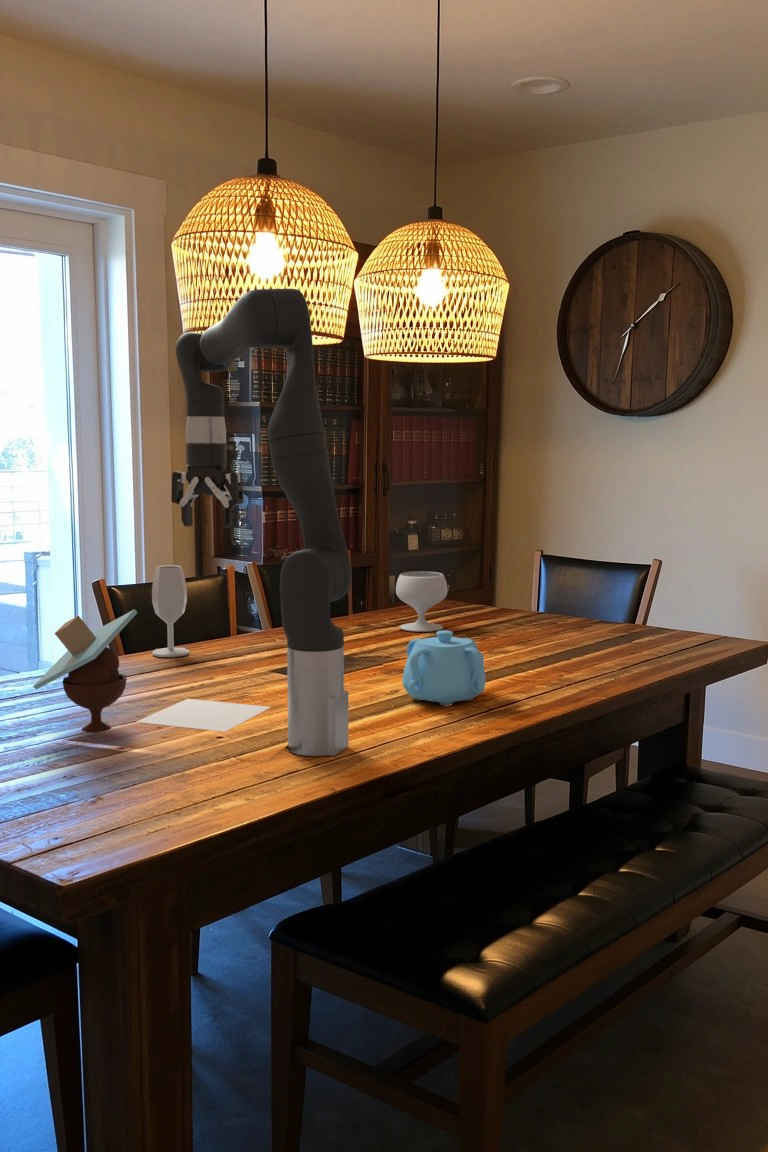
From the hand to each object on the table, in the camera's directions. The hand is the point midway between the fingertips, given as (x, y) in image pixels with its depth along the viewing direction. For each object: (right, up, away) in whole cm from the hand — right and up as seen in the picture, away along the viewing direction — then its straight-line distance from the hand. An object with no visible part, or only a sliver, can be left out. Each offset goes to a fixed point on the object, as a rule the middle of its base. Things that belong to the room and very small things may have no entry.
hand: (207, 526), depth 199 cm
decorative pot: (+46, -34, +7) cm, 57 cm away
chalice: (+44, -24, +84) cm, 97 cm away
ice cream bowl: (-16, -37, -17) cm, 44 cm away
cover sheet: (-17, -22, -19) cm, 34 cm away
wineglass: (-17, -28, +48) cm, 59 cm away
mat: (+1, -35, -8) cm, 36 cm away
